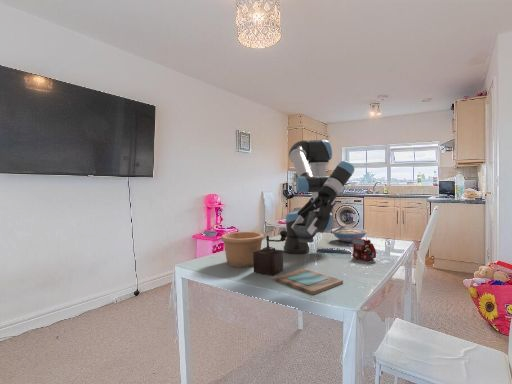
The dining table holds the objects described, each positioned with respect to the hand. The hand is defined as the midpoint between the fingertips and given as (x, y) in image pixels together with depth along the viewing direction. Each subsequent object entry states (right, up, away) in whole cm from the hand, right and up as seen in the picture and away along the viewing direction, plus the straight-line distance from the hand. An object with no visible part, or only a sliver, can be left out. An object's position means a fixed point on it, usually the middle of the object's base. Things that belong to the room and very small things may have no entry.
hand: (301, 230), depth 122 cm
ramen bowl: (+44, -17, +79) cm, 92 cm away
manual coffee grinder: (-11, -21, +19) cm, 30 cm away
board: (+3, -21, +2) cm, 21 cm away
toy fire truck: (+38, -19, +35) cm, 55 cm away
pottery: (-25, -21, +32) cm, 46 cm away
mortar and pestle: (+3, -5, +2) cm, 6 cm away
